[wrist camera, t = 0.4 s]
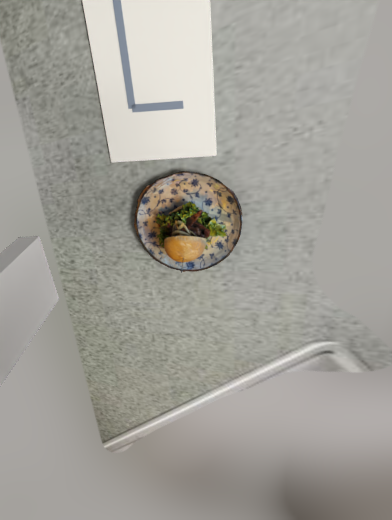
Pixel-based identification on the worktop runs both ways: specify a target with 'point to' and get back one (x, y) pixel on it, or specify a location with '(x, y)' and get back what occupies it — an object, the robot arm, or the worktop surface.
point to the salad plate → (188, 221)
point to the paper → (154, 77)
